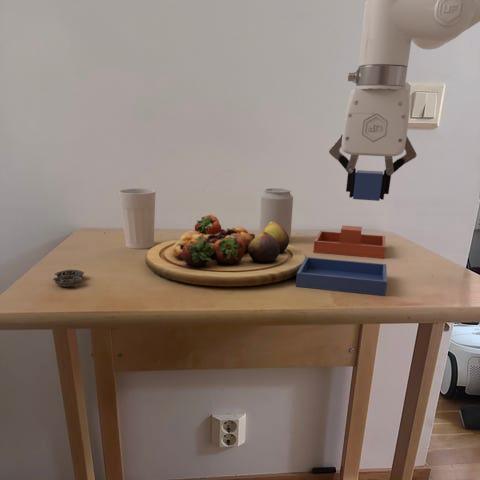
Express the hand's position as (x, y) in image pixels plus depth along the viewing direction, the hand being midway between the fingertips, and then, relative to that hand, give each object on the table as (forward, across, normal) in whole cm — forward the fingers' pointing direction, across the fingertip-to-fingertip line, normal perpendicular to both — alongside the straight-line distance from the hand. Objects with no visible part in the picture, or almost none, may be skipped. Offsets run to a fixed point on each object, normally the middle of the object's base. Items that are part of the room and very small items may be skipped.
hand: (366, 196), depth 84 cm
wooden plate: (+15, -26, +2) cm, 30 cm away
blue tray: (+15, -2, -2) cm, 15 cm away
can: (+15, -21, +26) cm, 36 cm away
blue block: (0, 0, 0) cm, 0 cm away
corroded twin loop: (+15, -48, -18) cm, 54 cm away
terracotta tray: (+15, -3, +23) cm, 28 cm away
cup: (+16, -48, +10) cm, 52 cm away
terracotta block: (+15, -3, +23) cm, 27 cm away
